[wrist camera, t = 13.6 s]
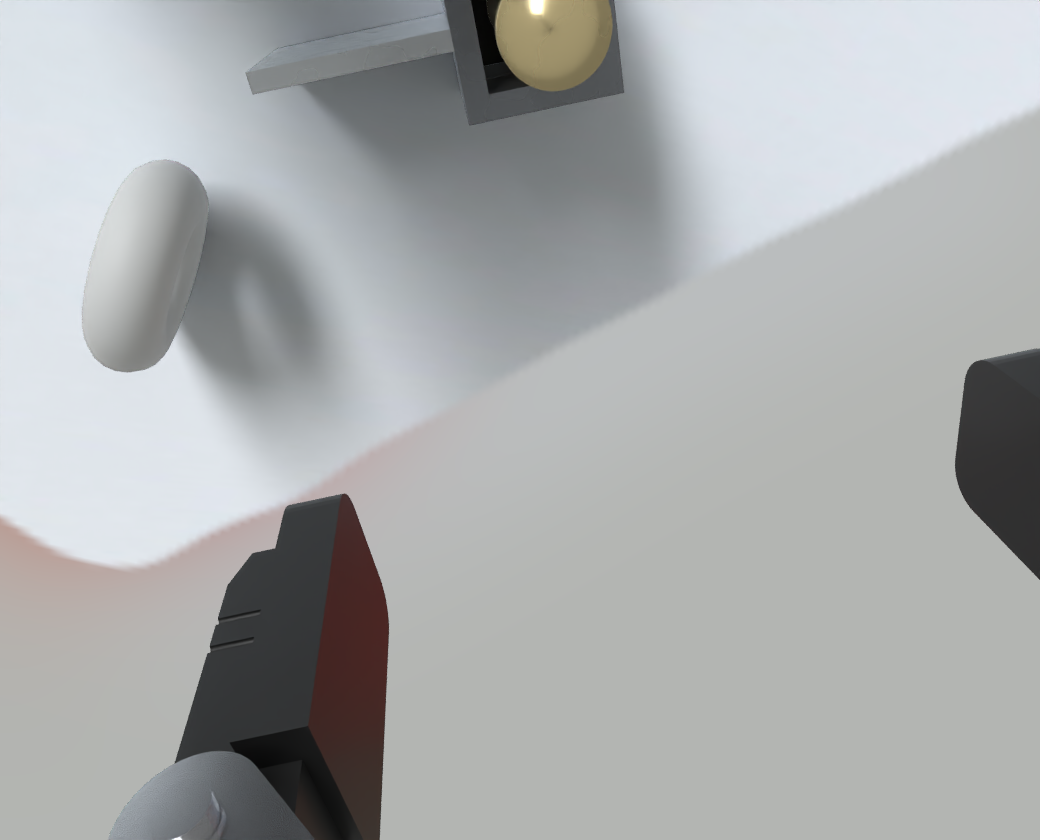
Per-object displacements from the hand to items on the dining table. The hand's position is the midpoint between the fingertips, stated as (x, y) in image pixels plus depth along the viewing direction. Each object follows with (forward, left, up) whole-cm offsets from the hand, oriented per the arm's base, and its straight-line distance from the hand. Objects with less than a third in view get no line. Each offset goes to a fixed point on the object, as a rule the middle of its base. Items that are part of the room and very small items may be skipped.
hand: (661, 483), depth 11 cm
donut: (-17, -4, -34) cm, 38 cm away
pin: (+2, +3, -34) cm, 34 cm away
